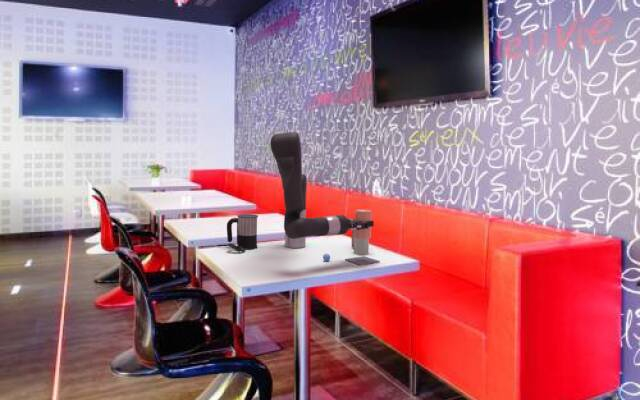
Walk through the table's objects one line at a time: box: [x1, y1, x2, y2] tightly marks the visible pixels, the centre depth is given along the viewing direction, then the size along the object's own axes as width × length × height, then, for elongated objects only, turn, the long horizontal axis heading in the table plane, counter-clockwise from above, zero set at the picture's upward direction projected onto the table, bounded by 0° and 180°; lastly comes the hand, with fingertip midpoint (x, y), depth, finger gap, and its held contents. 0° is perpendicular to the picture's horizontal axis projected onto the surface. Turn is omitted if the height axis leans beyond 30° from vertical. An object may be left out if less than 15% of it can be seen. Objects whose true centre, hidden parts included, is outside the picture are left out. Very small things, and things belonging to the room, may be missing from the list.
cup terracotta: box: [354, 208, 372, 240], centre depth 200 cm, size 6×6×11 cm
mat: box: [344, 255, 381, 267], centre depth 202 cm, size 10×10×1 cm
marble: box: [322, 253, 331, 262], centre depth 202 cm, size 3×3×3 cm
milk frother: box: [226, 213, 259, 253], centre depth 221 cm, size 14×16×15 cm
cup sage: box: [353, 229, 370, 256], centre depth 216 cm, size 6×6×11 cm
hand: (367, 222), depth 201 cm, fingers closed on cup terracotta, 6 cm apart
